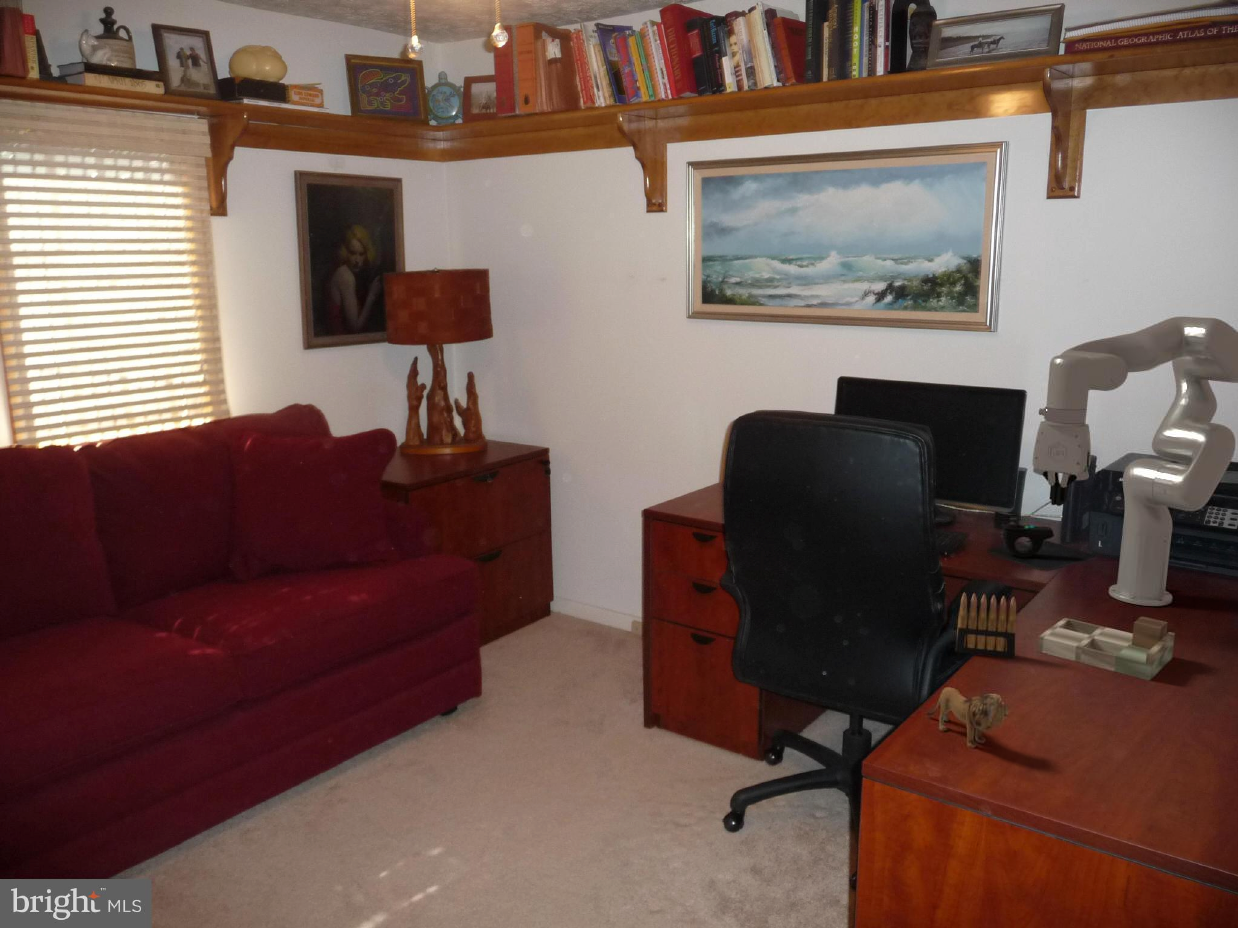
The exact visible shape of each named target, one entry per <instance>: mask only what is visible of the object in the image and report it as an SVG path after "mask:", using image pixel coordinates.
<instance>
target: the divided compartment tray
mask: <svg viewBox="0 0 1238 928" xmlns="http://www.w3.org/2000/svg"><path fill="white" fill-rule="evenodd" d="M1175 635H1176V633H1175V632H1171V631H1169V632H1166V635H1165V636H1164V637H1163V638H1162V639H1161V640H1160V641H1159V642H1158V643H1157V644H1156V645H1155V646H1154V647H1153V648H1152V649H1151V650H1149V649H1145V648H1141V647H1137V646H1133V645H1132V637H1133V632H1132V633H1131V632H1128V631H1122V630H1119V629H1115V628H1110V627H1106V626H1101V625H1098V624H1094V623H1088V622H1085V621H1080V620H1075V619H1073V618H1072V619H1071V618H1067V617H1063V618H1062V619H1060V620H1059V621H1057V623H1055V624H1054V625H1052V626H1051V627H1050V628H1048V629H1047V630H1045V631H1044V632H1043V633H1041V634H1040V635H1038V639H1037V648H1036V649H1037V650H1036V651H1037V652H1039V653H1044V654H1046V653H1047V654H1046V655H1050V656H1055V657H1058V658H1061V659H1066V660H1070V661H1073V662H1077V663H1081V664H1085V665H1088V666H1092V667H1097V668H1100V669H1104V670H1106V671H1107V670H1108V671H1111V672H1116V673H1119V674H1123V675H1126V676H1131V677H1135V678H1138V679H1142V680H1146V681H1148V682H1149V681H1151V680H1152V679H1153V678H1154V677H1155V676H1156V675H1157V674H1158V673H1159V672H1160V671H1161V670H1162V669H1163V668H1164V667H1165V666H1166V665H1167V664H1168V663H1169V662H1170V661H1171V660H1172V659H1173V654H1174V653H1173V652H1174V644H1175V637H1176V636H1175Z"/></svg>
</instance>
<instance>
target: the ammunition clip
mask: <svg viewBox="0 0 1238 928" xmlns="http://www.w3.org/2000/svg"><path fill="white" fill-rule="evenodd" d="M967 597H968V596H967V594H966V592H963V593H962V596H961V600H960V606H959V612H958V616H957V617H958V620H957V631H956V639H955V640H956V642H955V648H954V650H955V653H958V654H959V653H961V654H969V655H978V656H986V657H987V656H988V657H994V658H995V657H996V658H997V657H998V658H1005V659H1015V657H1016V656H1015V654H1016V630H1017V603H1016V598H1015V596H1013V597H1012V598H1011V601H1010V604H1009V609H1008V616H1007V599H1006V596H1005V595H1002V598H1001V599H1000V602H999V610H998V613H997V598H996V595H995V594H993V595H992V596H991V600H990V604H989V610H988V602H987V601H988V600H987V596H986V594H985V593H984V594H983V595H982V597H981V600H980V605H979V611H978V608H977V607H978V600H977V599H978V598H977V595H976V593H973V594H972V597H971V600H970V602H969V603H970V605H969V611H968V598H967ZM987 610H988V611H989V612H987ZM997 614H998V616H997Z"/></svg>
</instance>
